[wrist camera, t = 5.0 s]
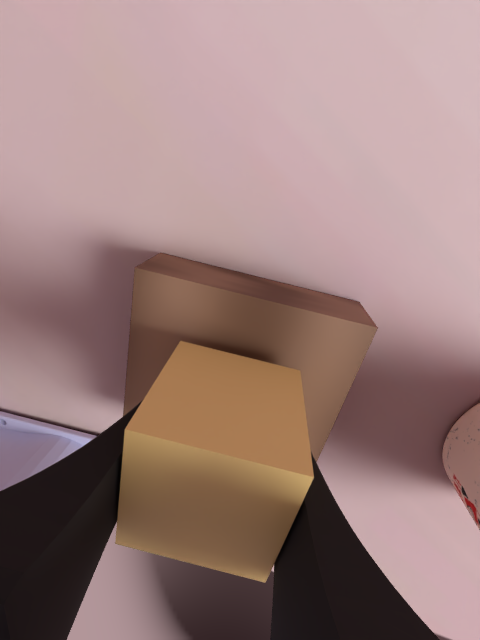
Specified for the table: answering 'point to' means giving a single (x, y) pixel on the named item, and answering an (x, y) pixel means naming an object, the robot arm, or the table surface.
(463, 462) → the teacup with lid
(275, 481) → the ochre block
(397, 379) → the table surface
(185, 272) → the walnut base
